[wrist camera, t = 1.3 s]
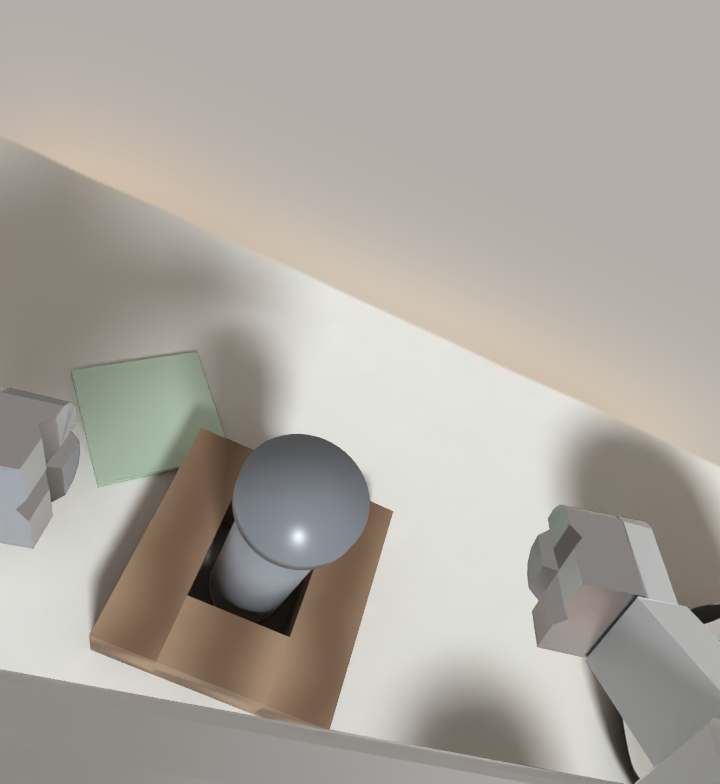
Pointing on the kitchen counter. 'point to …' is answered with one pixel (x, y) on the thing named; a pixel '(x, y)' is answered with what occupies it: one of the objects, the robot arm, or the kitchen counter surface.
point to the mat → (143, 414)
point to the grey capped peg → (287, 522)
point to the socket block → (223, 629)
